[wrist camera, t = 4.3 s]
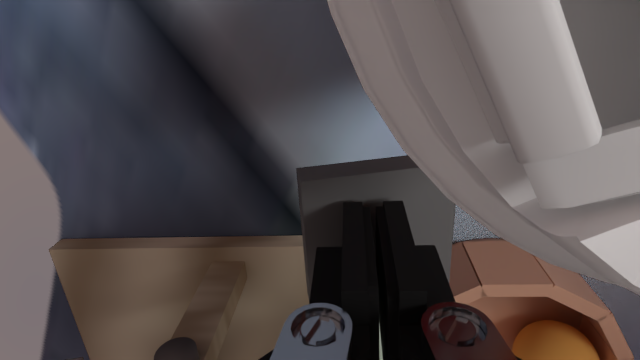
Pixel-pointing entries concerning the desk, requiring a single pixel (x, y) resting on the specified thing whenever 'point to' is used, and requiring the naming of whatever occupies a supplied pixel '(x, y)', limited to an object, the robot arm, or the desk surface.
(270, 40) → the desk surface
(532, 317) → the bowl
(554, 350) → the ball
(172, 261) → the stand
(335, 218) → the lever tray
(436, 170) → the coffee cup
